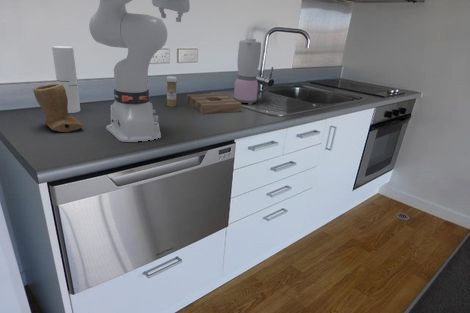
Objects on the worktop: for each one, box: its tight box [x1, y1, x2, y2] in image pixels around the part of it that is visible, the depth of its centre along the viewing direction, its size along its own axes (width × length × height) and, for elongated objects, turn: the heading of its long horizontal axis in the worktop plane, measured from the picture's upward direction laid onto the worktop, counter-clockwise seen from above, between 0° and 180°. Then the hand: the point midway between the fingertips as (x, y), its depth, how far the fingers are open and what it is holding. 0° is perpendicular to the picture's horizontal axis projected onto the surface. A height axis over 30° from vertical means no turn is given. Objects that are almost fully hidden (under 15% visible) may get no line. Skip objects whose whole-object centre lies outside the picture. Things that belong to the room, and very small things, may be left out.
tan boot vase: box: [33, 83, 84, 133], centre depth 109 cm, size 15×12×15 cm
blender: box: [233, 37, 262, 106], centre depth 164 cm, size 16×12×32 cm
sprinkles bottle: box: [166, 76, 178, 108], centre depth 148 cm, size 5×5×13 cm
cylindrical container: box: [51, 45, 81, 114], centre depth 126 cm, size 7×7×25 cm
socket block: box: [186, 93, 243, 115], centre depth 153 cm, size 20×20×4 cm
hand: (171, 19), depth 146 cm, fingers open, 8 cm apart
